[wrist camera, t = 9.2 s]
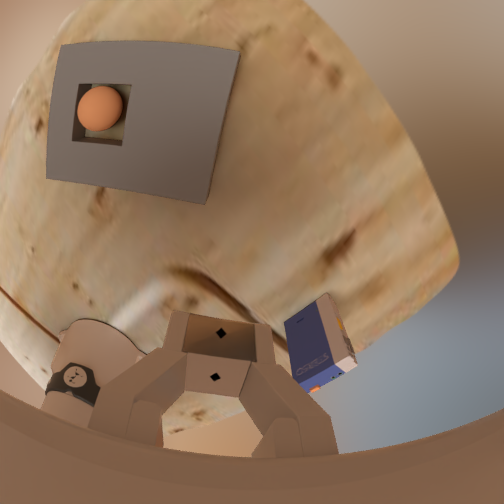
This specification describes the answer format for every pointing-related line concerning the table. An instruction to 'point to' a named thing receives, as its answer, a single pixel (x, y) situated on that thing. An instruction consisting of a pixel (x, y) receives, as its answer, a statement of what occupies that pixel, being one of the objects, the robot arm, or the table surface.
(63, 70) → the pocket board
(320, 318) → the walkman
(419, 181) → the table surface
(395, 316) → the table surface
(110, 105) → the ball
